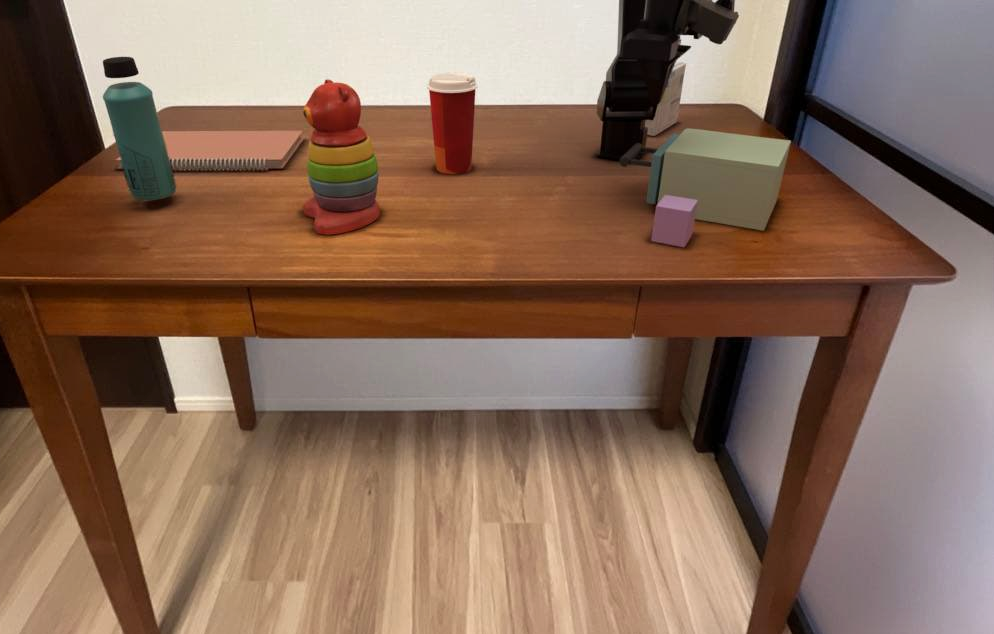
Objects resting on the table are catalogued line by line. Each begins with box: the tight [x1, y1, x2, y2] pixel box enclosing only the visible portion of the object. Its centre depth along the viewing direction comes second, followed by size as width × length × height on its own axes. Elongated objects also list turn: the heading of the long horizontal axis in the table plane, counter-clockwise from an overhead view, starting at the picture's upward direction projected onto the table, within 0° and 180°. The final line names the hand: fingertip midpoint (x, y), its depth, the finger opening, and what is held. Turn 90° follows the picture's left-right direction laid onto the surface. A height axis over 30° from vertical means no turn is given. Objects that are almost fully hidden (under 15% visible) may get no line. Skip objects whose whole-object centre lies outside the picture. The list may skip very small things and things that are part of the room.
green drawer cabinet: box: [657, 127, 792, 232], centre depth 98 cm, size 14×12×9 cm
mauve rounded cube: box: [650, 195, 698, 248], centre depth 90 cm, size 4×4×5 cm
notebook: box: [114, 130, 305, 172], centre depth 122 cm, size 27×17×2 cm, turn 88°
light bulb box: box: [645, 61, 687, 137], centre depth 130 cm, size 11×7×11 cm, turn 144°
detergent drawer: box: [618, 133, 680, 205], centre depth 99 cm, size 18×10×7 cm, turn 62°
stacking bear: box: [302, 78, 381, 235], centre depth 94 cm, size 11×10×18 cm
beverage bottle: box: [102, 56, 178, 202], centre depth 99 cm, size 6×7×20 cm
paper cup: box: [426, 72, 479, 175], centre depth 111 cm, size 8×8×14 cm
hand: (655, 103), depth 97 cm, fingers closed
